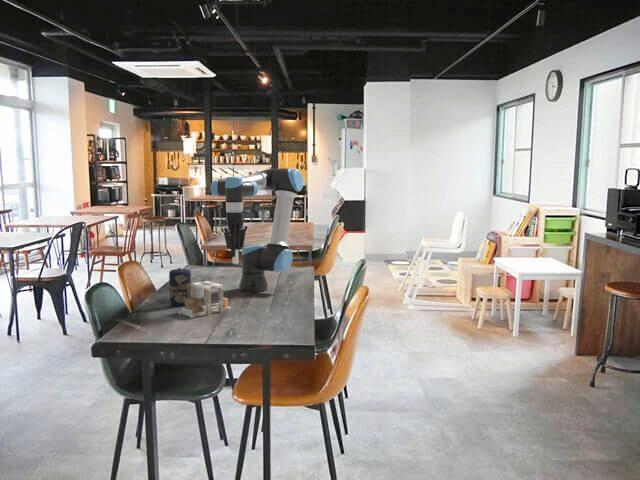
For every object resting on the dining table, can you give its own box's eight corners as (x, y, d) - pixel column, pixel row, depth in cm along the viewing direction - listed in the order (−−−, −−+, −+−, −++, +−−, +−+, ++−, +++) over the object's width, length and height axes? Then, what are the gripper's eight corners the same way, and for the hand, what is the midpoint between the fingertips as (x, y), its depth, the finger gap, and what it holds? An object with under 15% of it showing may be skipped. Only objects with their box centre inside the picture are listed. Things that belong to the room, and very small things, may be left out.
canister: (170, 309, 255) (168, 270, 252) (169, 304, 264) (168, 266, 262) (192, 308, 257) (191, 269, 255) (190, 303, 266) (189, 265, 264)
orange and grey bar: (221, 305, 258) (221, 296, 258) (231, 308, 253) (230, 299, 253) (181, 313, 243) (181, 304, 243) (191, 316, 238) (190, 307, 238)
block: (194, 309, 246) (194, 296, 246) (201, 311, 243) (200, 298, 242) (185, 311, 243) (185, 298, 242) (192, 313, 240) (191, 300, 239)
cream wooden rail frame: (226, 305, 263) (225, 277, 262) (242, 309, 255) (242, 281, 253) (177, 315, 245) (176, 285, 243) (193, 320, 236) (192, 290, 235)
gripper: (240, 210, 261) (241, 260, 264) (217, 212, 252) (218, 264, 255) (251, 211, 256) (252, 262, 259) (227, 213, 247) (229, 266, 250)
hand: (235, 263), depth 257 cm, fingers closed
